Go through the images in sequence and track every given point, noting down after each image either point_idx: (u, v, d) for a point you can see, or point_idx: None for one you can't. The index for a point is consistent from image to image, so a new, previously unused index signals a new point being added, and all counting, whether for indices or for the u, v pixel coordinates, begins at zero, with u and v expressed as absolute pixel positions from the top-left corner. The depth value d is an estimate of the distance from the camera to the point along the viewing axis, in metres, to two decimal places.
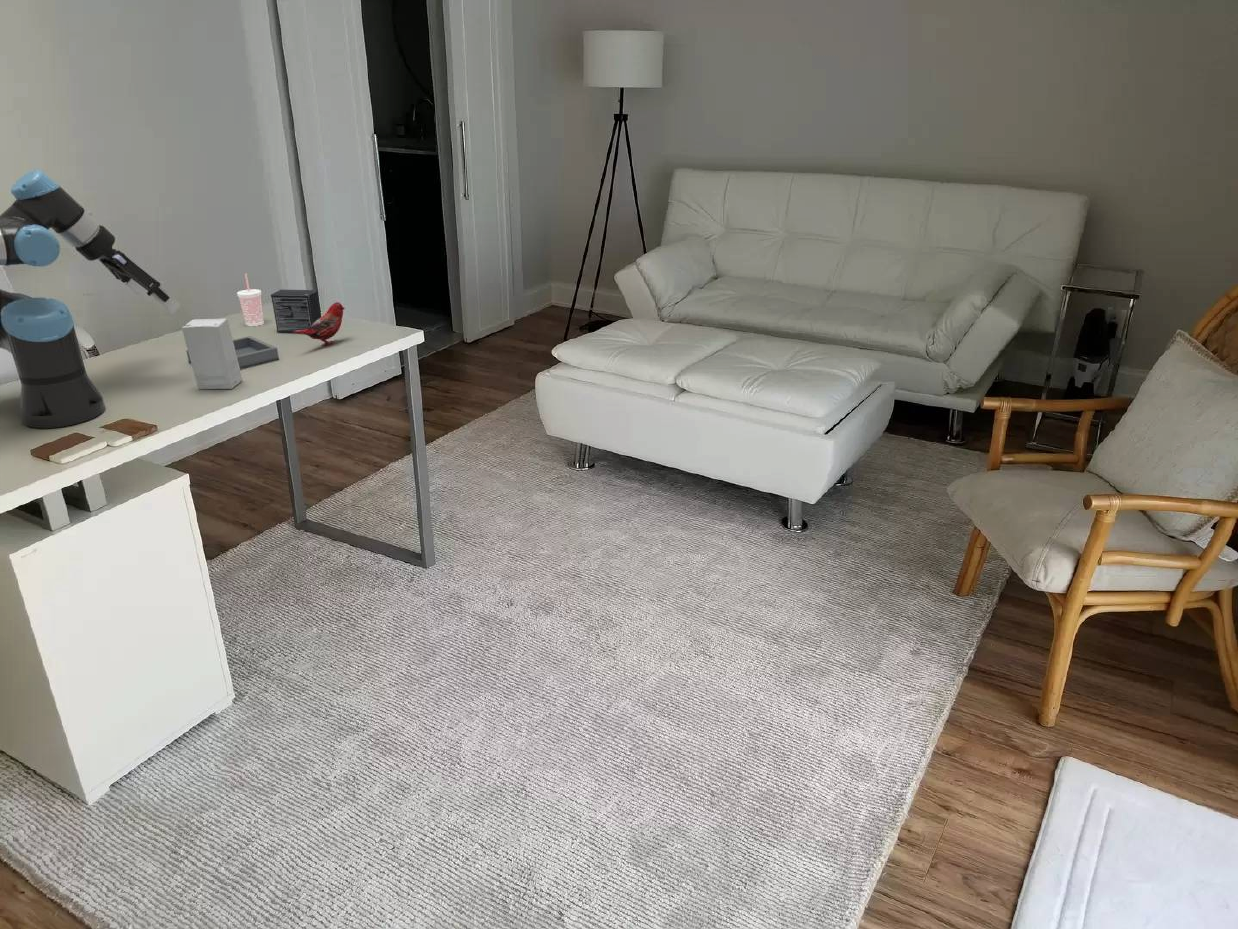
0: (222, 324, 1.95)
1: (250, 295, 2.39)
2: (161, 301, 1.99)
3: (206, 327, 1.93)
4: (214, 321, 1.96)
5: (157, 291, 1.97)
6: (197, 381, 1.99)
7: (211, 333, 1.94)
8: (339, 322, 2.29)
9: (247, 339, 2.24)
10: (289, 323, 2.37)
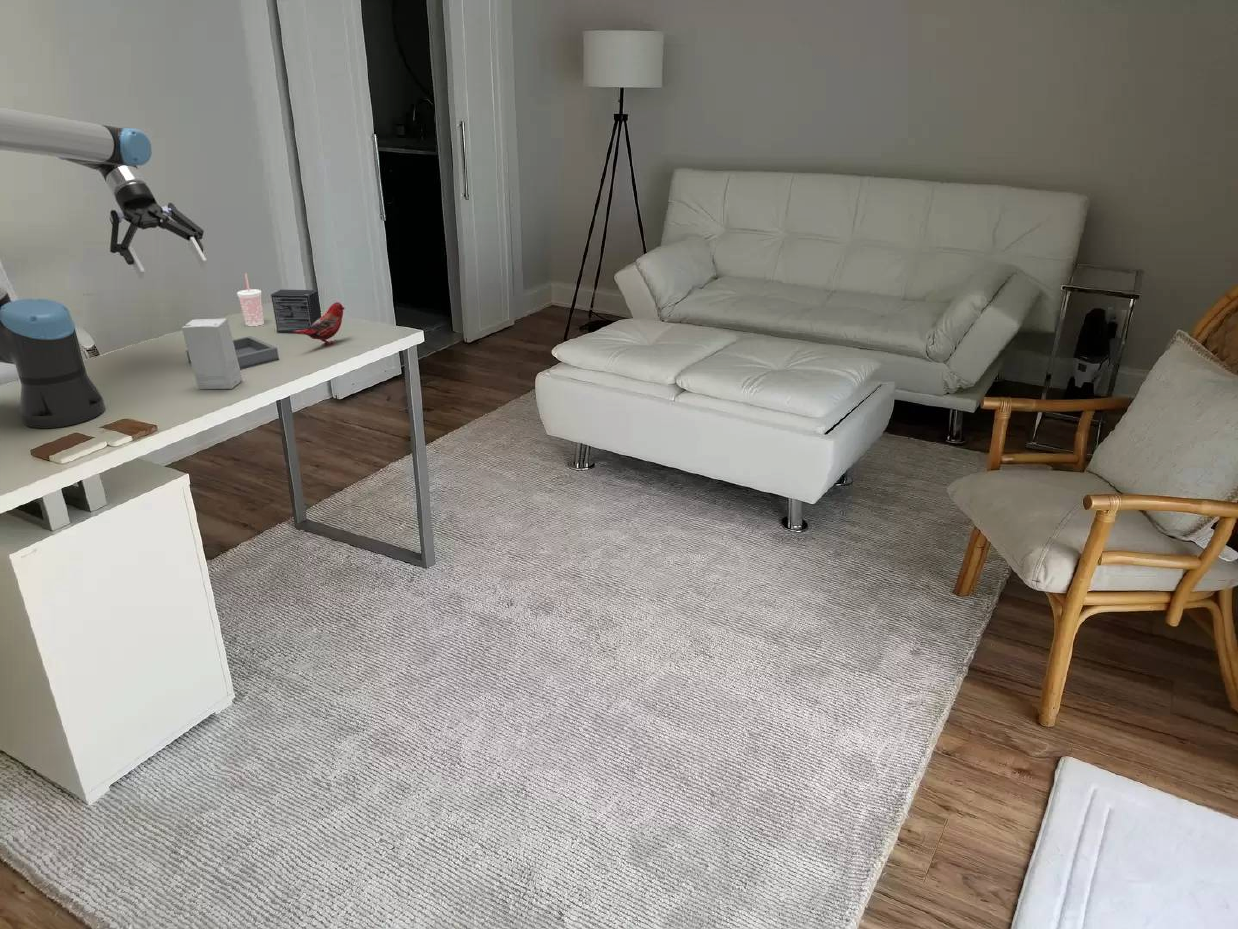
0: (222, 324, 1.95)
1: (250, 295, 2.39)
2: None
3: (206, 327, 1.93)
4: (214, 321, 1.96)
5: None
6: (197, 381, 1.99)
7: (211, 333, 1.94)
8: (339, 322, 2.29)
9: (247, 339, 2.24)
10: (289, 323, 2.37)
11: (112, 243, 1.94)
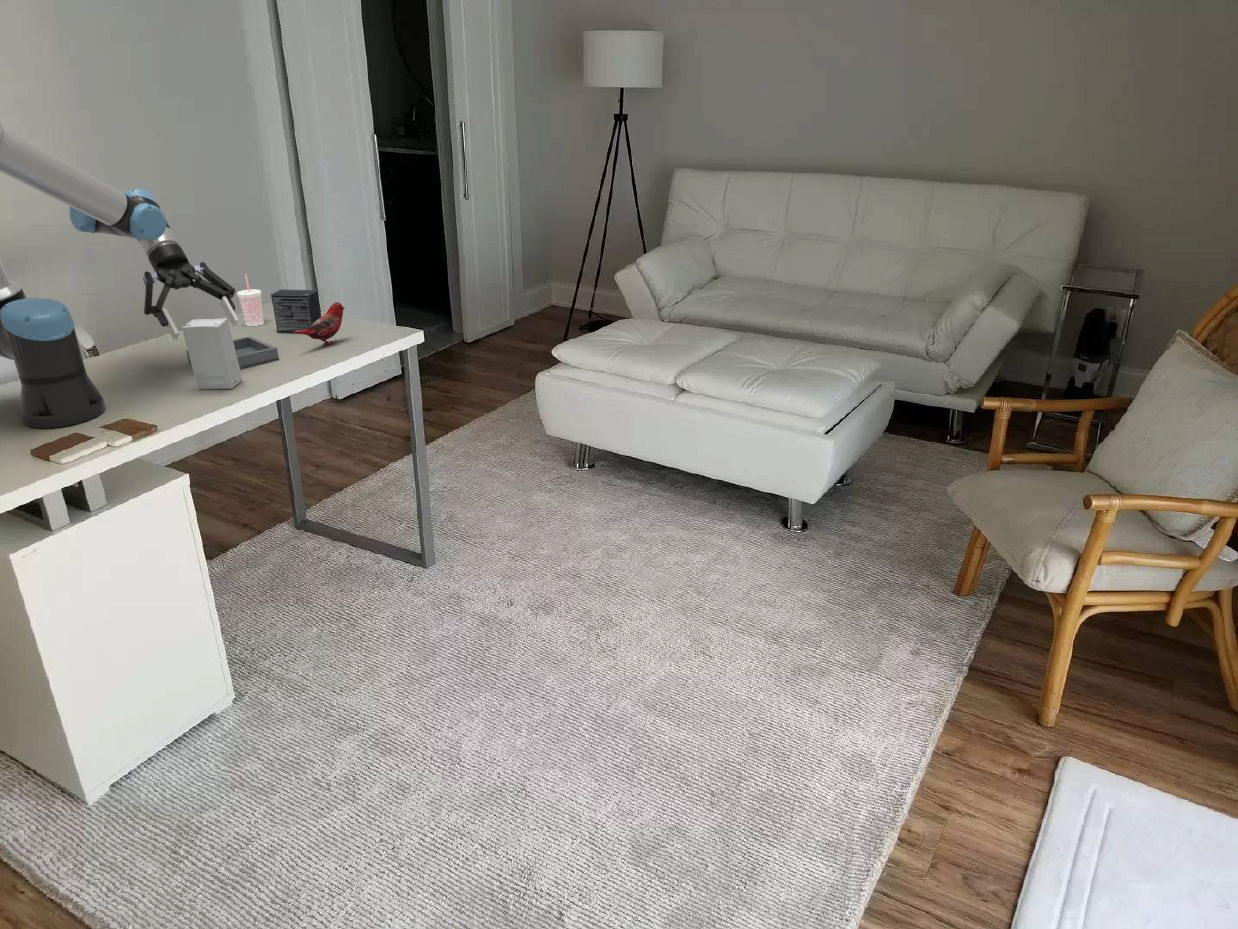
0: (222, 324, 1.95)
1: (250, 295, 2.39)
2: None
3: (206, 327, 1.93)
4: (214, 321, 1.96)
5: None
6: (197, 381, 1.99)
7: (211, 333, 1.94)
8: (339, 322, 2.29)
9: (247, 339, 2.24)
10: (289, 323, 2.37)
11: (147, 305, 1.95)
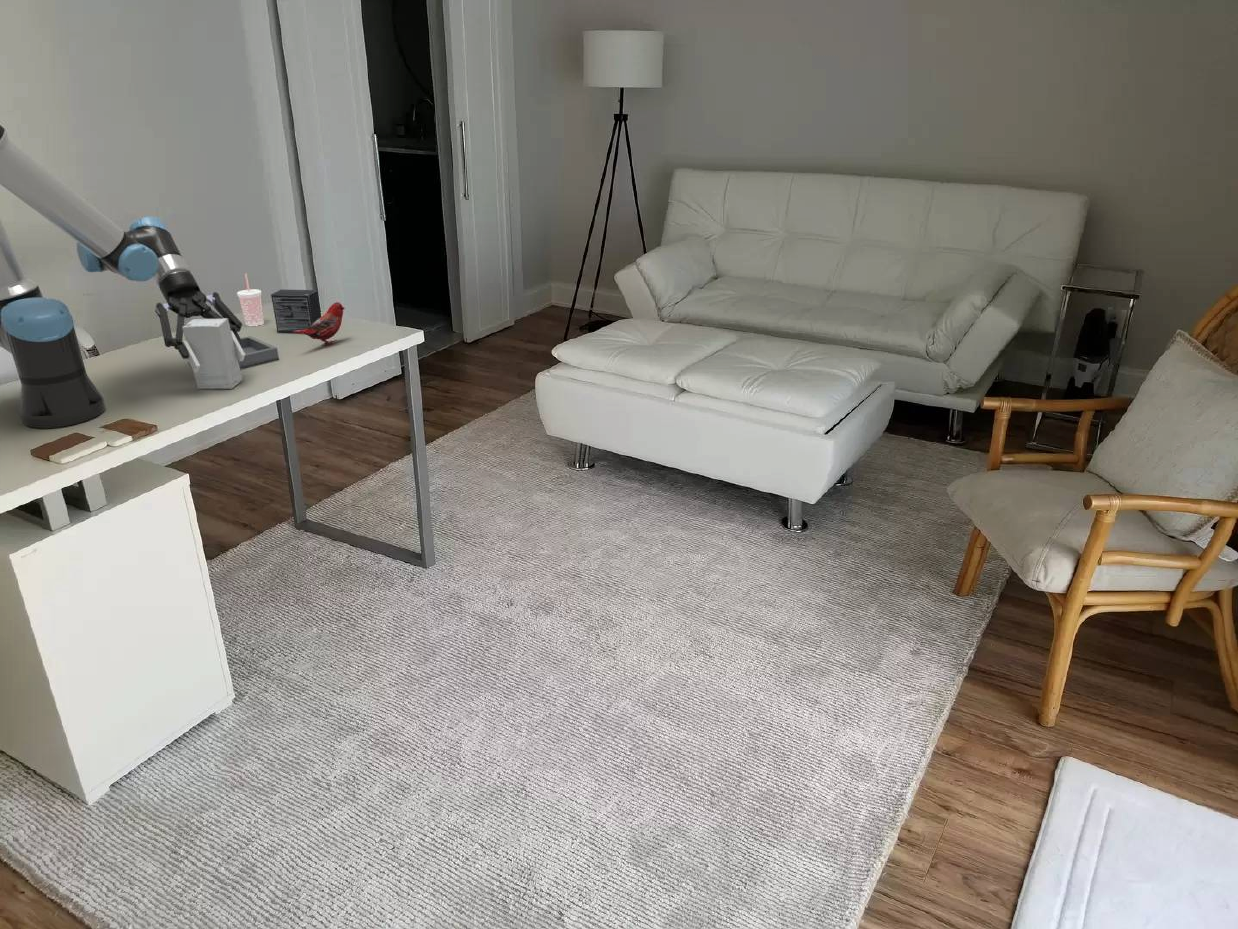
0: (223, 324, 1.95)
1: (250, 295, 2.39)
2: None
3: (206, 326, 1.93)
4: (214, 321, 1.96)
5: None
6: (197, 381, 1.99)
7: (211, 333, 1.94)
8: (339, 322, 2.29)
9: (247, 339, 2.24)
10: (289, 323, 2.37)
11: (168, 338, 1.93)
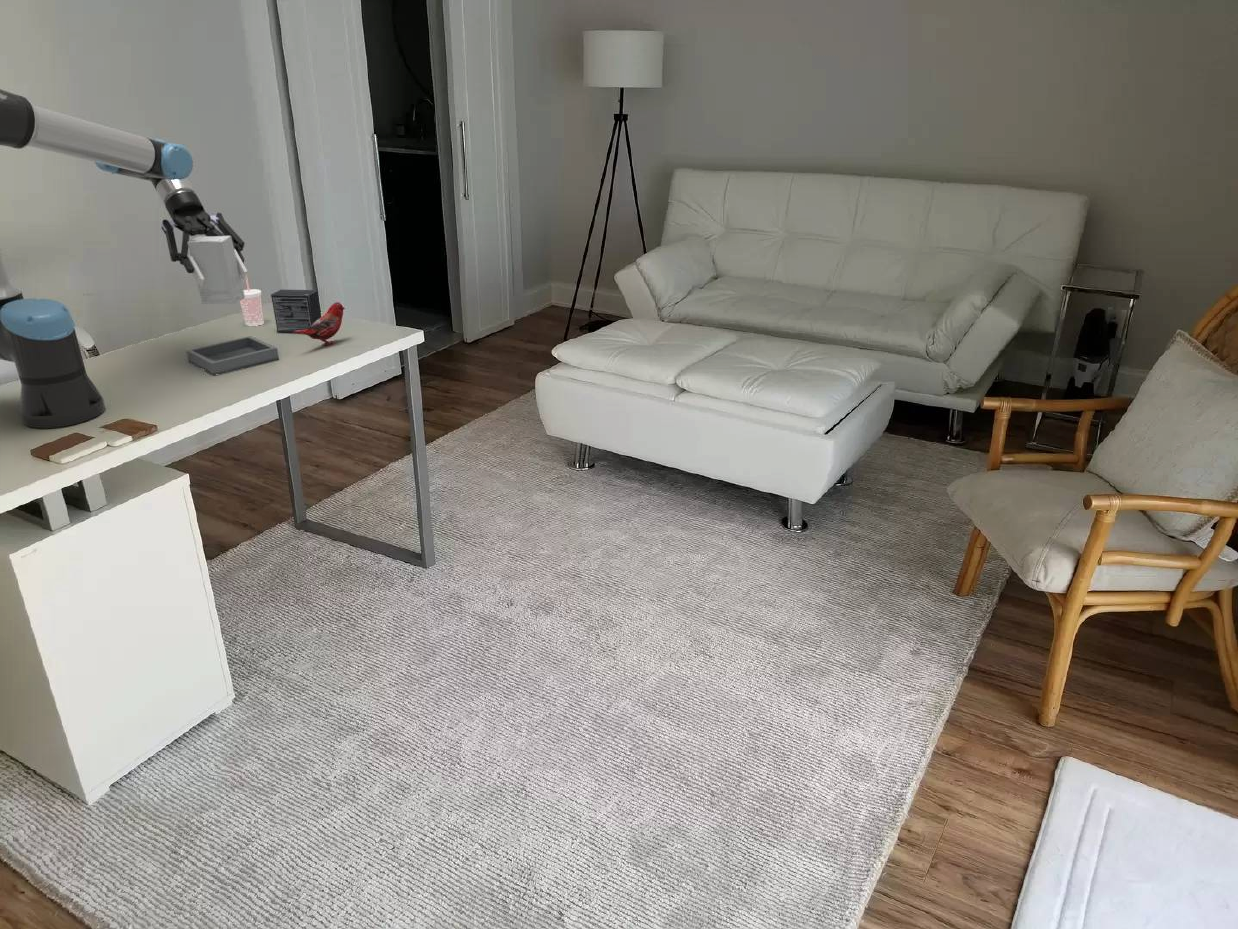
0: (226, 240, 2.04)
1: (250, 295, 2.39)
2: None
3: (210, 241, 2.02)
4: (218, 237, 2.05)
5: None
6: (201, 296, 2.08)
7: (215, 248, 2.03)
8: (339, 322, 2.29)
9: (247, 339, 2.24)
10: (289, 323, 2.37)
11: (173, 252, 2.01)
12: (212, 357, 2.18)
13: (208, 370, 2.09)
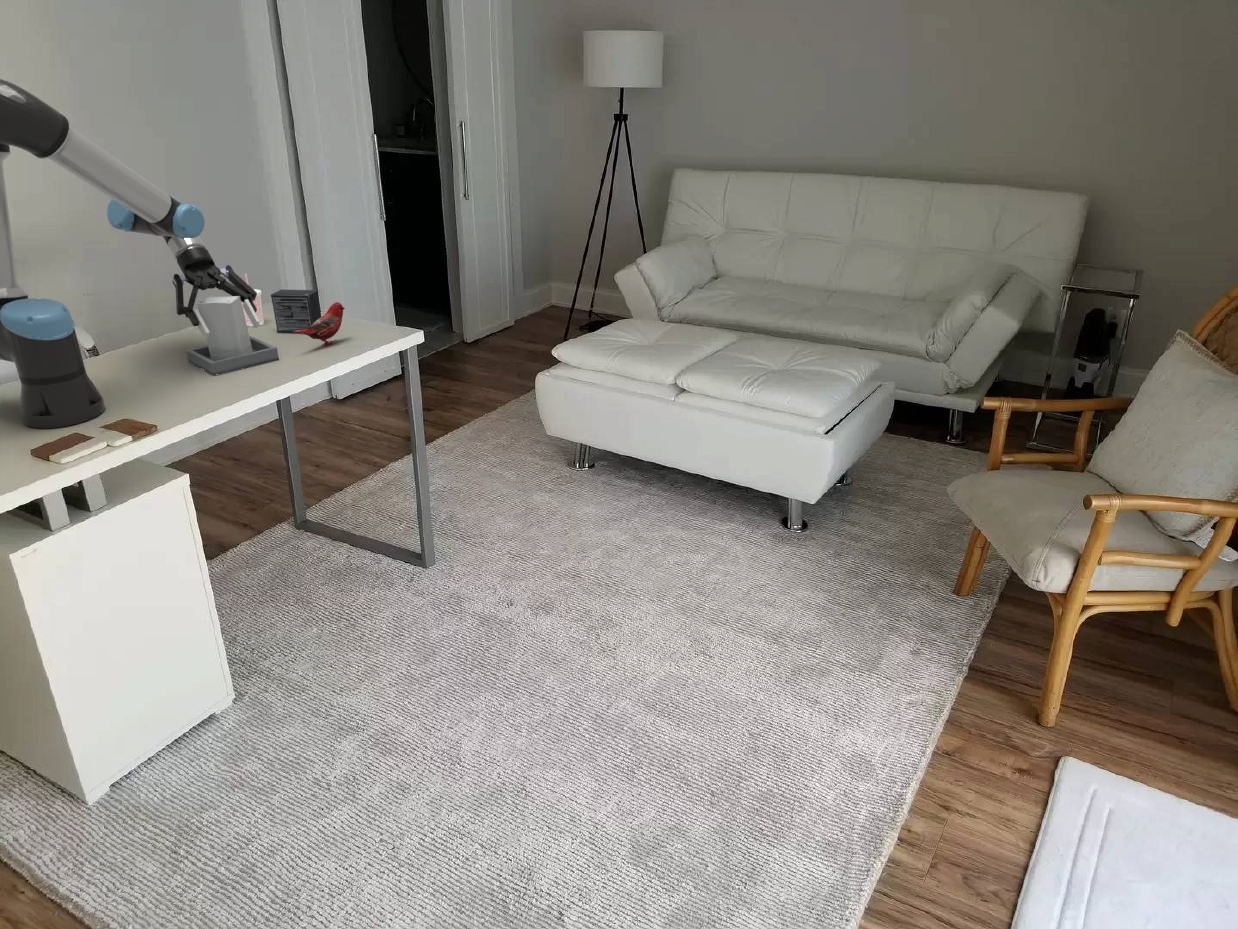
0: (235, 301, 2.10)
1: None
2: None
3: (219, 303, 2.08)
4: (227, 298, 2.11)
5: None
6: (211, 354, 2.14)
7: (224, 309, 2.09)
8: (339, 322, 2.29)
9: None
10: (289, 323, 2.37)
11: (179, 306, 2.06)
12: None
13: (208, 370, 2.09)
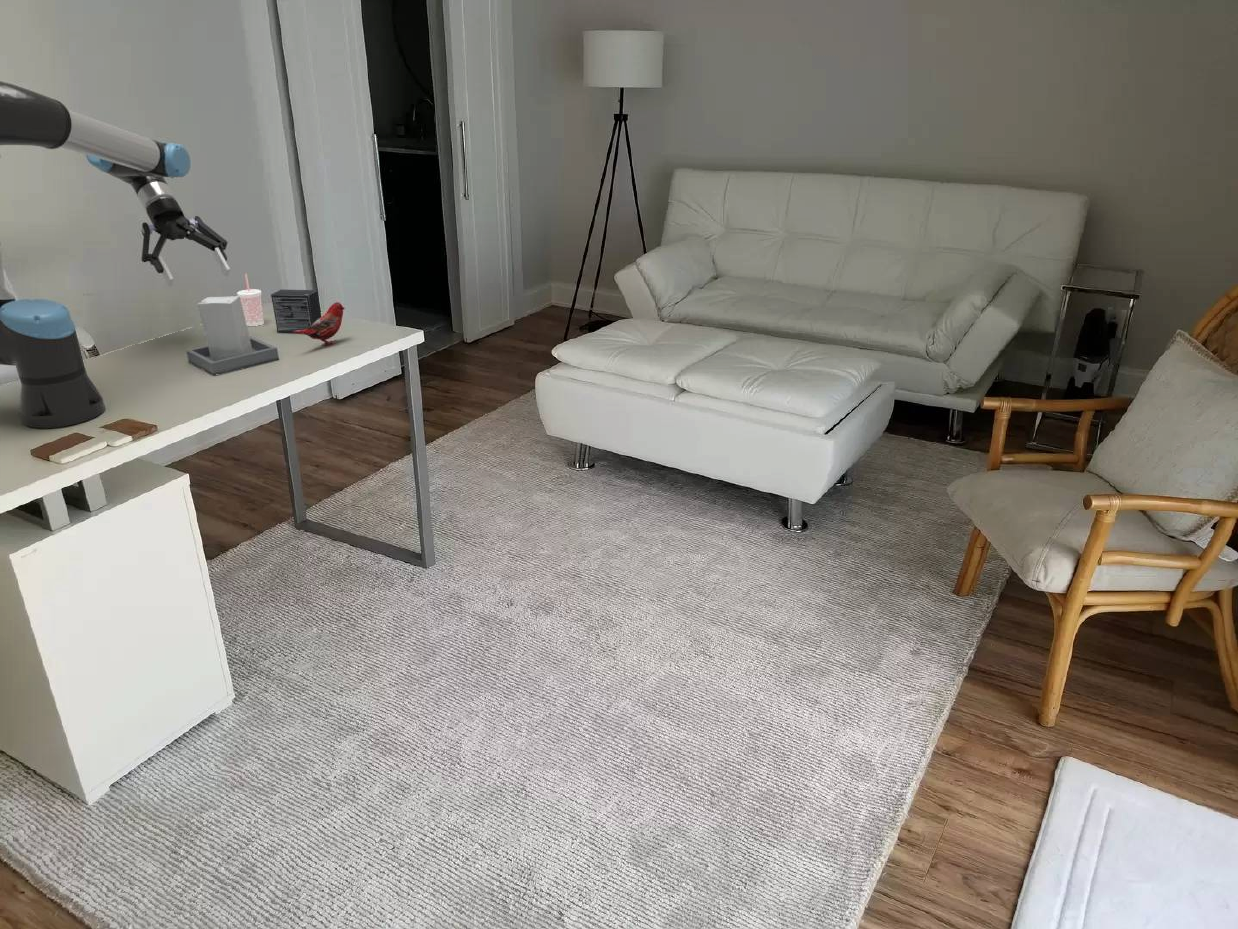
0: (235, 301, 2.10)
1: (250, 295, 2.39)
2: None
3: (219, 303, 2.08)
4: (227, 298, 2.11)
5: None
6: (211, 354, 2.14)
7: (224, 309, 2.09)
8: (339, 322, 2.29)
9: None
10: (289, 323, 2.37)
11: (144, 253, 2.10)
12: None
13: (208, 370, 2.09)
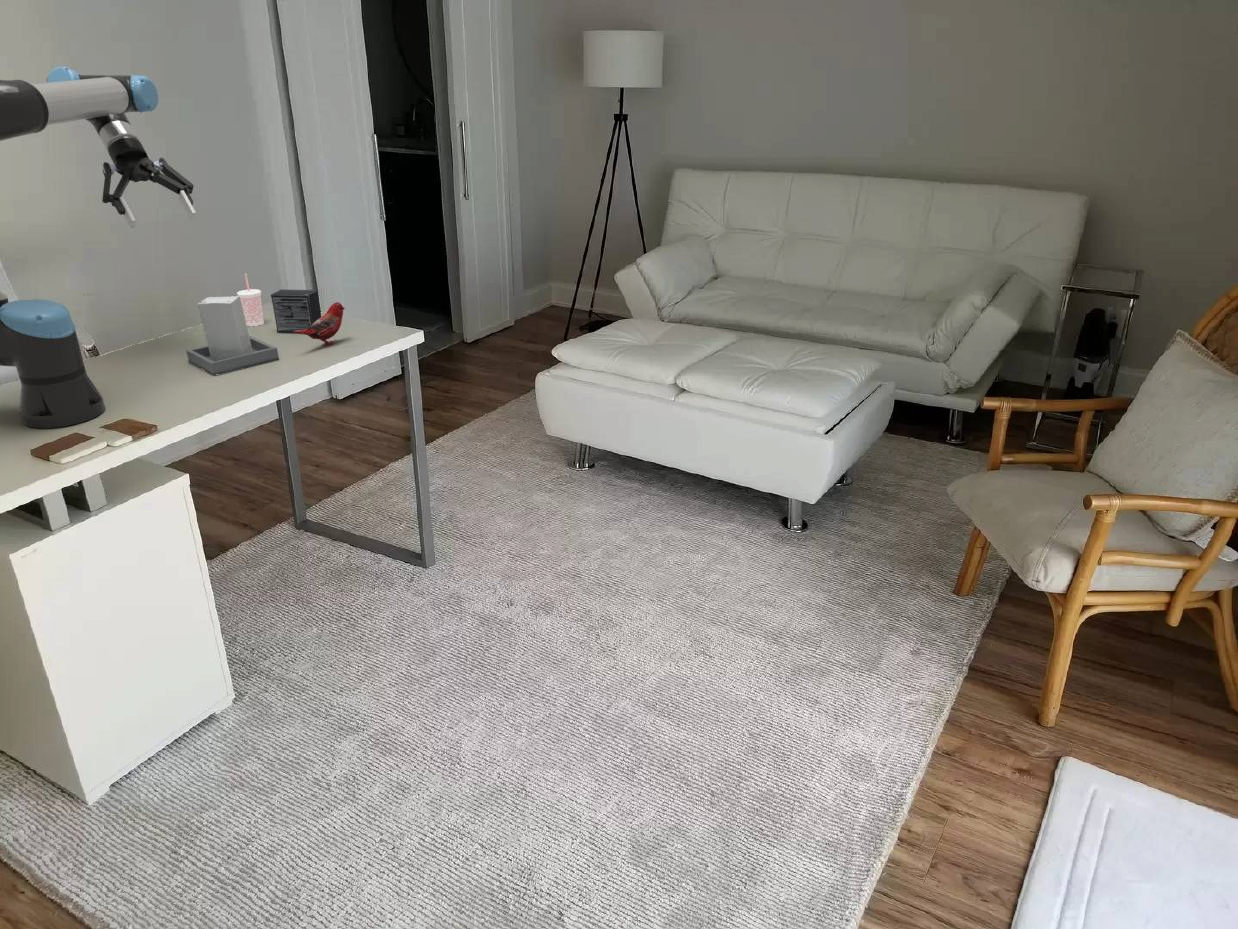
0: (235, 301, 2.10)
1: (250, 295, 2.39)
2: None
3: (219, 303, 2.08)
4: (227, 298, 2.11)
5: None
6: (211, 354, 2.14)
7: (224, 309, 2.09)
8: (339, 322, 2.29)
9: None
10: (289, 323, 2.37)
11: (104, 193, 2.01)
12: None
13: (208, 370, 2.09)
